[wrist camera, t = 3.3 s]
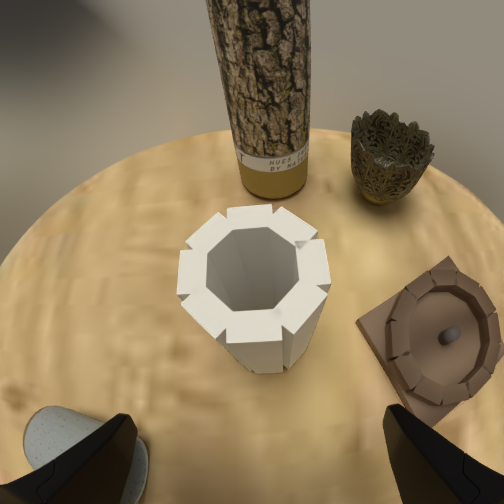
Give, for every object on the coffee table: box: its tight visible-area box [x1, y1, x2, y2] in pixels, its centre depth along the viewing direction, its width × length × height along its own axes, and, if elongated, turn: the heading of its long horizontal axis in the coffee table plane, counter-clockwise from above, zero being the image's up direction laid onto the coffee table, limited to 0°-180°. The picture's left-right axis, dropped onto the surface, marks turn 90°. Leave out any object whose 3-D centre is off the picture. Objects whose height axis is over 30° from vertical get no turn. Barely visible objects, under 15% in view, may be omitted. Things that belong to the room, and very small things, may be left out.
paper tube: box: [206, 0, 311, 199], centre depth 19 cm, size 7×7×25 cm
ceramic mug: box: [23, 406, 148, 504], centre depth 14 cm, size 11×8×8 cm
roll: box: [177, 204, 331, 374], centre depth 17 cm, size 6×6×12 cm
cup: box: [351, 109, 434, 206], centre depth 24 cm, size 8×7×8 cm
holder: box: [356, 256, 504, 428], centre depth 19 cm, size 11×11×3 cm
